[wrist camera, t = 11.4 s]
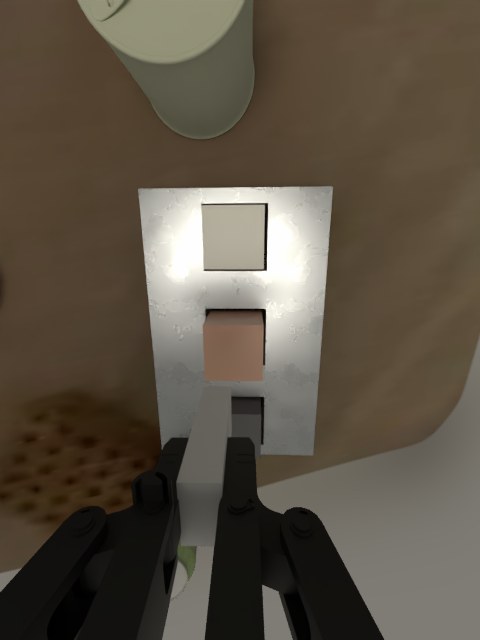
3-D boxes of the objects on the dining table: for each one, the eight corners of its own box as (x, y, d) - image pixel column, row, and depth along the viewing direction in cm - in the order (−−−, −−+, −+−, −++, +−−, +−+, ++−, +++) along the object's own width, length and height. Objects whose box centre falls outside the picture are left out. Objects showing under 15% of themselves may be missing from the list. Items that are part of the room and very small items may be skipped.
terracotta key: (212, 357, 29) (204, 380, 24) (210, 310, 28) (202, 325, 23) (260, 357, 29) (262, 381, 24) (261, 310, 27) (263, 325, 23)
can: (123, 70, 24) (8, -83, 13) (205, -21, 23) (158, -291, 11) (194, 163, 26) (150, 103, 15) (276, 86, 24) (300, -52, 13)
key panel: (169, 434, 34) (162, 452, 31) (150, 194, 27) (138, 188, 24) (307, 436, 33) (312, 455, 30) (323, 192, 26) (332, 186, 23)
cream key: (211, 264, 28) (203, 269, 23) (210, 211, 27) (201, 205, 22) (261, 264, 28) (263, 269, 23) (262, 211, 27) (264, 204, 22)
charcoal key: (216, 425, 33) (210, 457, 28) (215, 387, 32) (209, 413, 27) (259, 426, 33) (260, 458, 28) (259, 387, 31) (261, 414, 27)
